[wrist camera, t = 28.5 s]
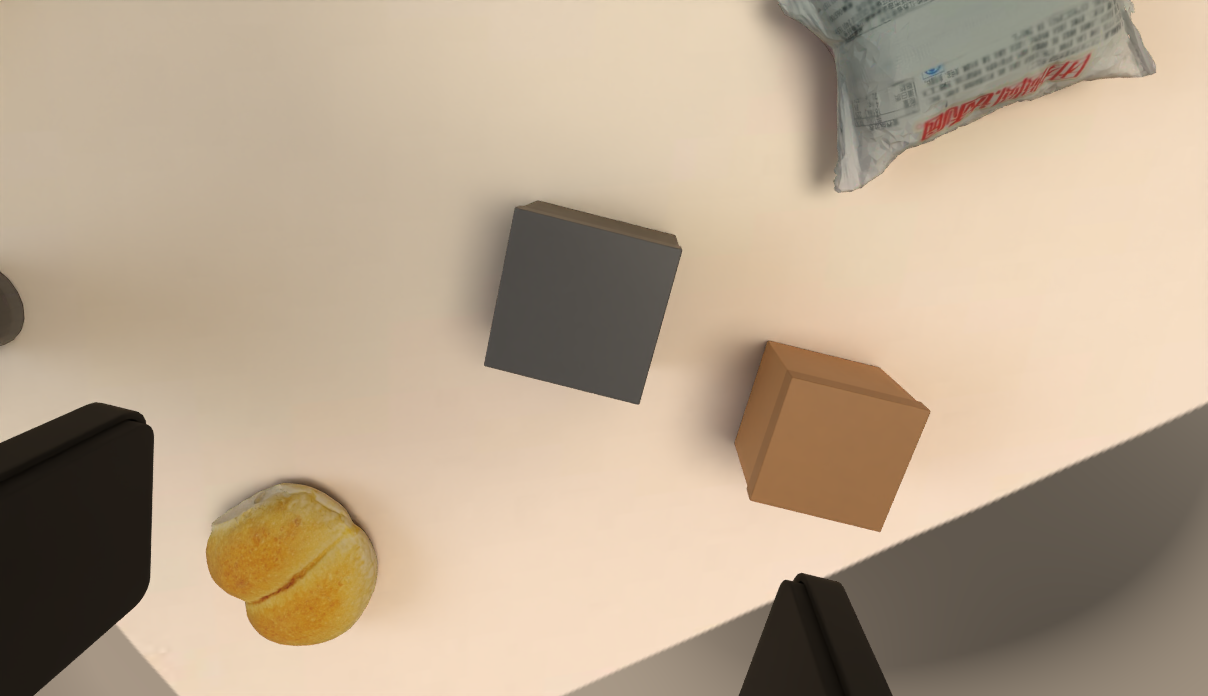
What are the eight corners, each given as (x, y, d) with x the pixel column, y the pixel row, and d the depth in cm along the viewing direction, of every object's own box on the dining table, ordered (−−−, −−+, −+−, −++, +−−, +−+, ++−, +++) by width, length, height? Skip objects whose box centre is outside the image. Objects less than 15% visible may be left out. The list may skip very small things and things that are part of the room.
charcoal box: (536, 199, 30) (514, 207, 25) (677, 234, 30) (682, 249, 25) (508, 334, 32) (483, 366, 27) (640, 367, 32) (638, 405, 27)
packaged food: (1105, 83, 27) (1202, 65, 22) (824, 193, 29) (858, 198, 24) (1059, -141, 25) (1155, -214, 20) (762, -7, 27) (785, -44, 22)
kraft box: (767, 338, 31) (791, 377, 25) (882, 366, 31) (931, 410, 26) (732, 444, 32) (749, 500, 27) (842, 470, 33) (880, 532, 27)
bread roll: (300, 638, 38) (260, 692, 34) (205, 517, 36) (152, 561, 32) (414, 585, 36) (386, 636, 32) (322, 456, 34) (281, 494, 30)
